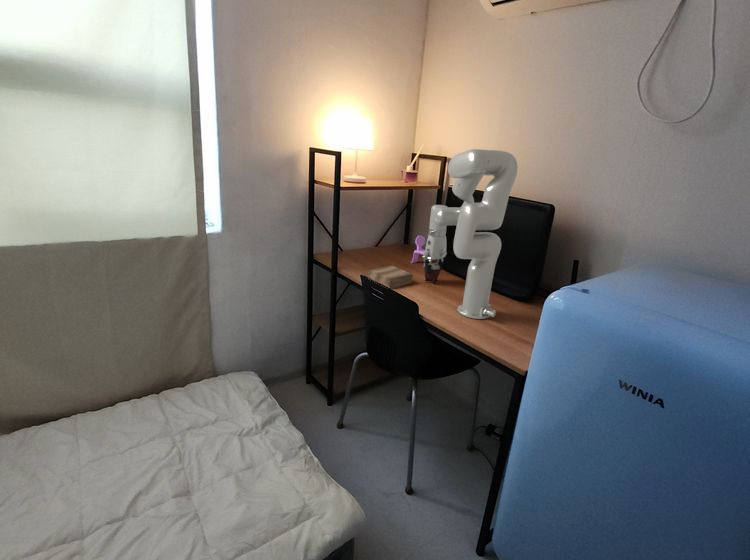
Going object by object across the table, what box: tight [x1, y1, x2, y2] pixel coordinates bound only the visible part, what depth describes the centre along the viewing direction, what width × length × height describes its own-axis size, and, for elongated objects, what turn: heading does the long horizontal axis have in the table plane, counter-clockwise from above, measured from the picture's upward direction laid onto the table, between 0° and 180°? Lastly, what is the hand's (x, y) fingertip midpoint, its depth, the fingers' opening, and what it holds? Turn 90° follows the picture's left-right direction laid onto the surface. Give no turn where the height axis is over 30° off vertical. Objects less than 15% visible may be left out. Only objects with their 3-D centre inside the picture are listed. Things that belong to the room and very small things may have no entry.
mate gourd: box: [424, 250, 447, 284], centre depth 187 cm, size 8×8×15 cm
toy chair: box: [410, 234, 430, 268], centre depth 215 cm, size 8×9×15 cm
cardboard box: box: [368, 265, 413, 289], centre depth 186 cm, size 14×14×5 cm
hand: (433, 271), depth 188 cm, fingers closed on mate gourd, 7 cm apart
